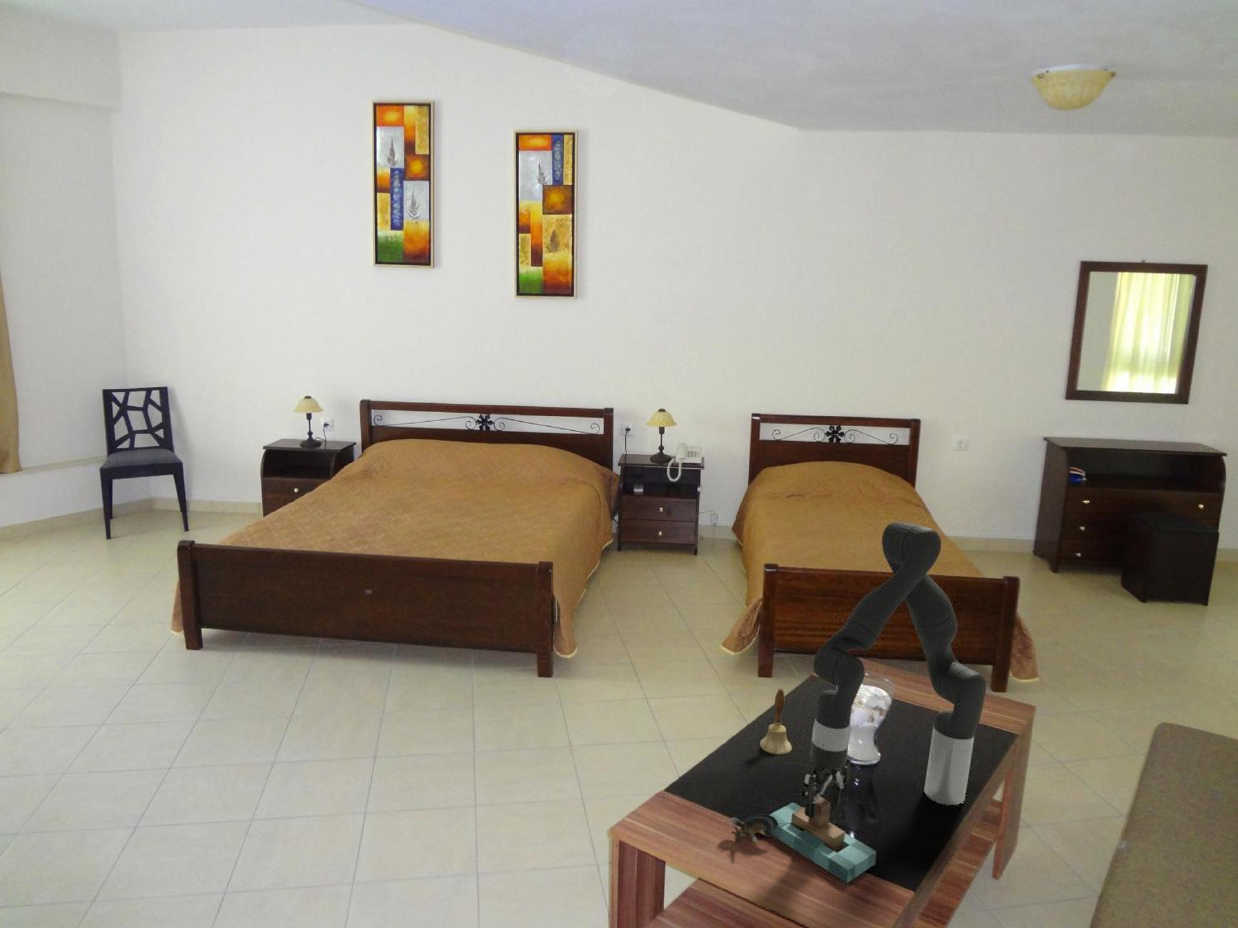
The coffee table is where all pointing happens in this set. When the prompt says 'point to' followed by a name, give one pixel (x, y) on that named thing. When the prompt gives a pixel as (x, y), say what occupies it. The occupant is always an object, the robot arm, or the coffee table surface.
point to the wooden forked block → (820, 825)
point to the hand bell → (777, 730)
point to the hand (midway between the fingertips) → (822, 809)
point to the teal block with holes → (823, 847)
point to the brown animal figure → (754, 826)
